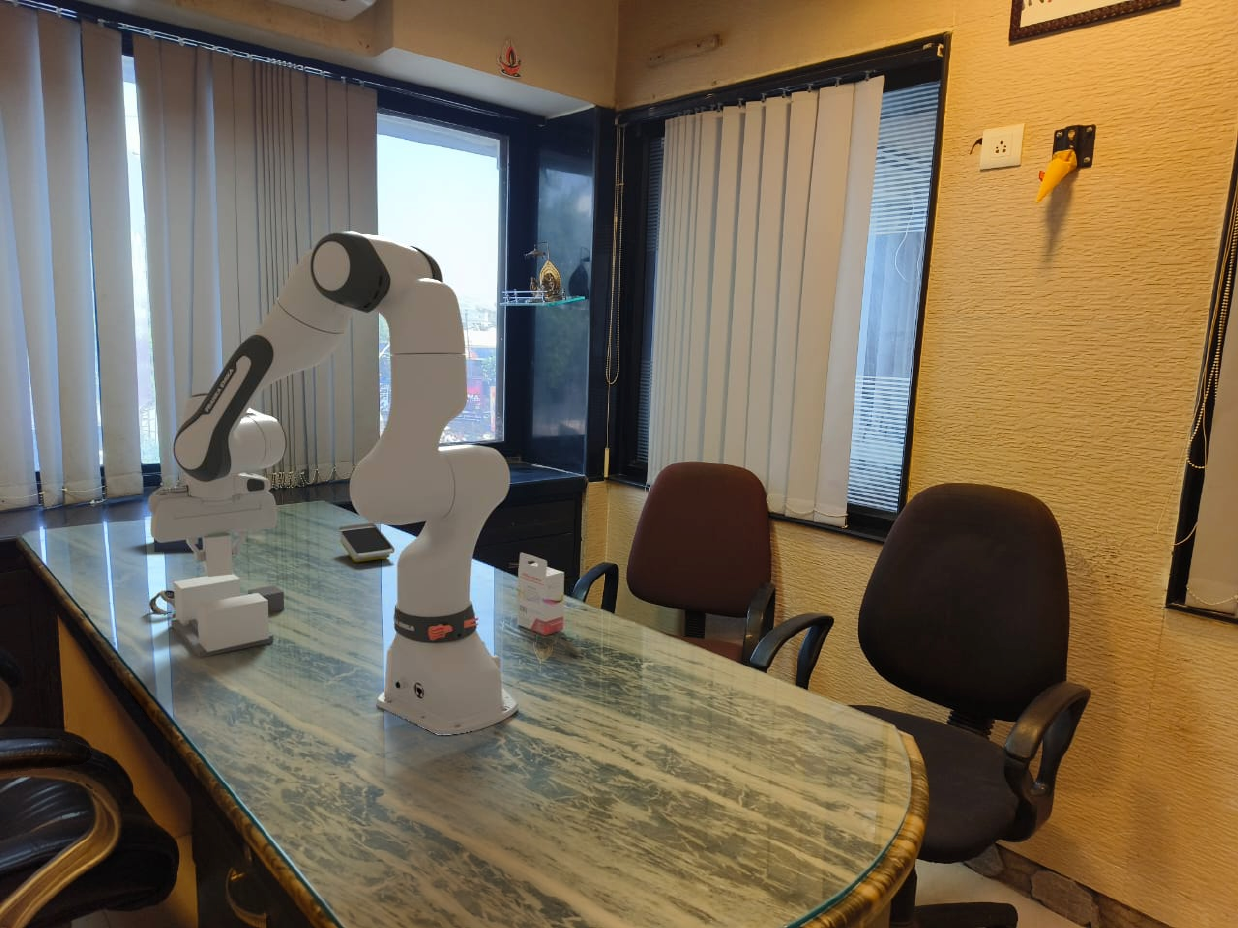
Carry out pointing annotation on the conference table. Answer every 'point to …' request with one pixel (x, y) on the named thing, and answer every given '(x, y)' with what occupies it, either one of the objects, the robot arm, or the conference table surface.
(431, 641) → the robot arm
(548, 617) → the ink cartridge box
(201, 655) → the rail base
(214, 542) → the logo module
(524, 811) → the conference table surface
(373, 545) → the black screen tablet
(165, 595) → the wristwatch
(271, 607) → the grey cube-like block
